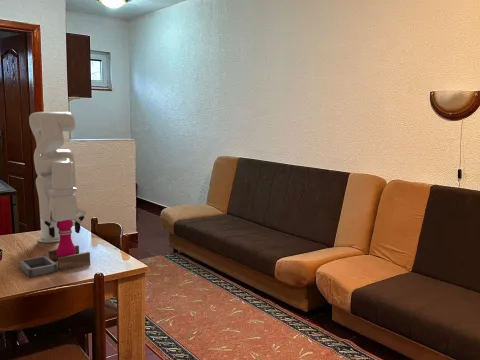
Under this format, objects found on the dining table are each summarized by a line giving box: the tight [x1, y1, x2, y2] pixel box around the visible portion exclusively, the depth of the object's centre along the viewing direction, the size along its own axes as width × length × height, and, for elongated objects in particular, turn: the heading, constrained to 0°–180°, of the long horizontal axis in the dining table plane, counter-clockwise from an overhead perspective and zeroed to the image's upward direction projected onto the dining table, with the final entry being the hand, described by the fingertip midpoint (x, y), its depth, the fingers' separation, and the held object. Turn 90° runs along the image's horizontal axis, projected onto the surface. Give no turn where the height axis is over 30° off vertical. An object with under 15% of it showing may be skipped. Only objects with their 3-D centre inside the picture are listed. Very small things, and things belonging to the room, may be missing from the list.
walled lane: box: [47, 244, 91, 272], centre depth 185 cm, size 13×12×5 cm
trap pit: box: [18, 255, 58, 279], centre depth 177 cm, size 14×10×3 cm
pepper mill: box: [56, 220, 76, 257], centre depth 183 cm, size 7×7×20 cm
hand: (65, 234), depth 183 cm, fingers open, 9 cm apart
